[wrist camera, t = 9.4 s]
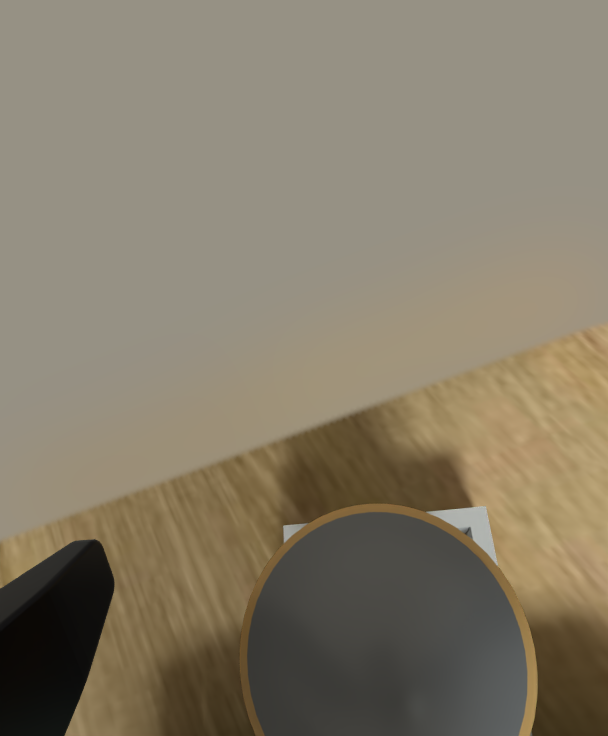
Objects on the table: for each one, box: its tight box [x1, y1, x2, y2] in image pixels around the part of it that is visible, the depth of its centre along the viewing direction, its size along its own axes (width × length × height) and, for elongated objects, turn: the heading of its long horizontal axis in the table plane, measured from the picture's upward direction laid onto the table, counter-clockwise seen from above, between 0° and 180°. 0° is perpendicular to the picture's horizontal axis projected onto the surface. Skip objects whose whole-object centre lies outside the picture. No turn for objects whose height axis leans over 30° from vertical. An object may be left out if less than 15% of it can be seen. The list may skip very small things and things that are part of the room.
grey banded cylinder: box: [239, 504, 538, 736], centre depth 13 cm, size 4×4×12 cm
